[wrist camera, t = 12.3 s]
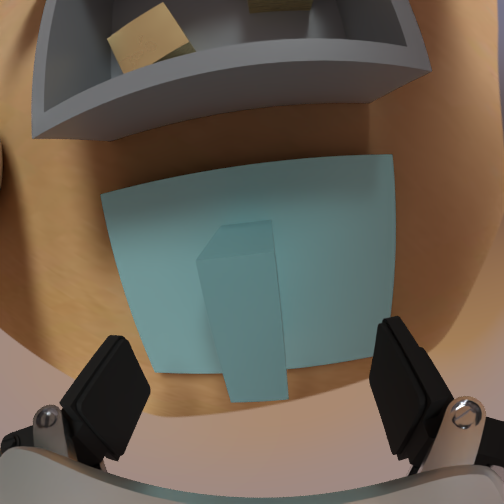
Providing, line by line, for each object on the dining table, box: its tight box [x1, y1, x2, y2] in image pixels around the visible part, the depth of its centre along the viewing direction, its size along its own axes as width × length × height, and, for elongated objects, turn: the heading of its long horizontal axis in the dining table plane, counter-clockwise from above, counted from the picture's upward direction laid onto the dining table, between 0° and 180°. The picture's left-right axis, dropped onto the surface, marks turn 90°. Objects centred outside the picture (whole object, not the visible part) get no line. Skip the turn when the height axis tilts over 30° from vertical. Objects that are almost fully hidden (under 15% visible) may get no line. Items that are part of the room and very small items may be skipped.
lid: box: [100, 154, 396, 402], centre depth 15 cm, size 19×15×8 cm
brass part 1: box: [107, 2, 197, 74], centre depth 12 cm, size 4×4×3 cm
